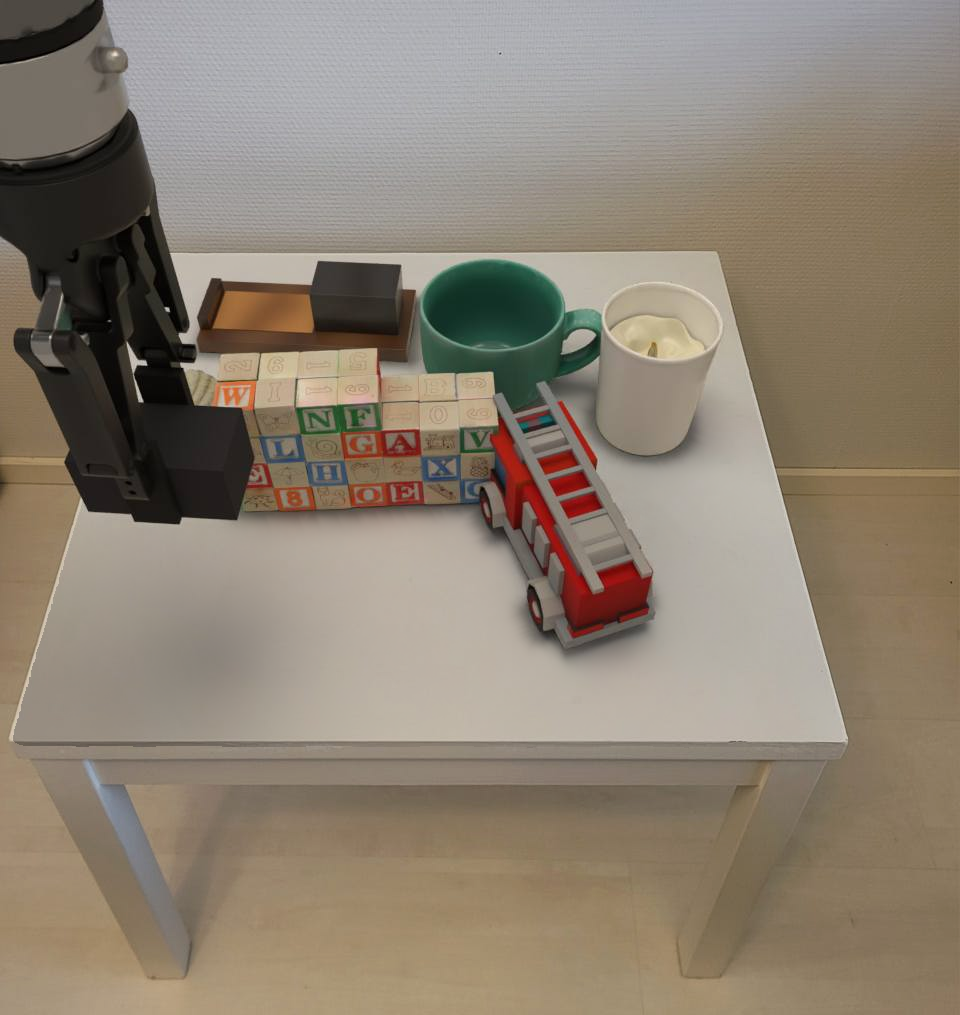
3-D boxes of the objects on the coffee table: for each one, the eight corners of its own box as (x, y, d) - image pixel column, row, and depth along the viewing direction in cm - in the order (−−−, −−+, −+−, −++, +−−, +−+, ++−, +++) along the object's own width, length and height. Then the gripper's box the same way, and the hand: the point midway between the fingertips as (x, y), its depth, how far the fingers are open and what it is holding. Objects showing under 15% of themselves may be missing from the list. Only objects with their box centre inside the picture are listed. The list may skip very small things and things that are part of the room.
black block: (87, 512, 57) (63, 462, 54) (113, 450, 60) (91, 399, 57) (237, 520, 57) (222, 471, 54) (255, 458, 60) (242, 407, 57)
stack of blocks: (493, 448, 85) (495, 342, 75) (497, 503, 81) (501, 399, 71) (248, 457, 84) (219, 351, 74) (241, 513, 80) (209, 409, 70)
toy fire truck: (562, 457, 84) (571, 373, 76) (662, 630, 73) (684, 553, 65) (466, 485, 82) (465, 402, 74) (554, 667, 71) (564, 592, 63)
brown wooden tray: (199, 352, 92) (185, 302, 88) (220, 292, 98) (208, 242, 93) (407, 362, 92) (403, 312, 87) (416, 301, 97) (414, 251, 93)
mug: (408, 420, 87) (403, 340, 79) (438, 330, 95) (436, 249, 87) (591, 446, 85) (603, 367, 78) (606, 352, 93) (618, 272, 85)
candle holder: (647, 370, 91) (668, 266, 82) (719, 433, 86) (749, 330, 77) (565, 411, 88) (577, 308, 78) (635, 479, 83) (656, 377, 73)
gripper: (58, 260, 35) (195, 610, 53) (186, 28, 46) (263, 382, 64) (-146, 248, 35) (60, 601, 53) (31, 20, 46) (151, 375, 64)
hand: (171, 481), depth 59 cm, fingers closed on black block, 5 cm apart
